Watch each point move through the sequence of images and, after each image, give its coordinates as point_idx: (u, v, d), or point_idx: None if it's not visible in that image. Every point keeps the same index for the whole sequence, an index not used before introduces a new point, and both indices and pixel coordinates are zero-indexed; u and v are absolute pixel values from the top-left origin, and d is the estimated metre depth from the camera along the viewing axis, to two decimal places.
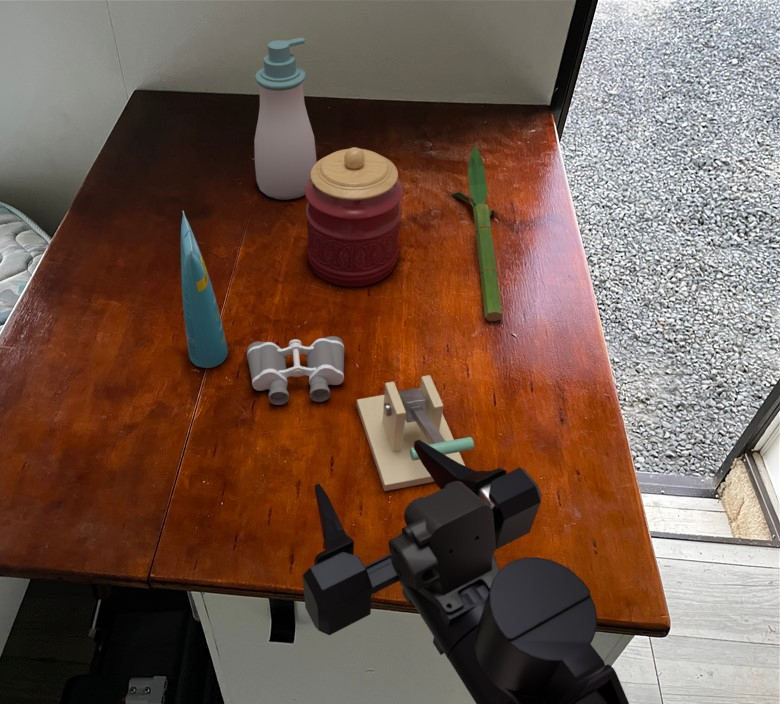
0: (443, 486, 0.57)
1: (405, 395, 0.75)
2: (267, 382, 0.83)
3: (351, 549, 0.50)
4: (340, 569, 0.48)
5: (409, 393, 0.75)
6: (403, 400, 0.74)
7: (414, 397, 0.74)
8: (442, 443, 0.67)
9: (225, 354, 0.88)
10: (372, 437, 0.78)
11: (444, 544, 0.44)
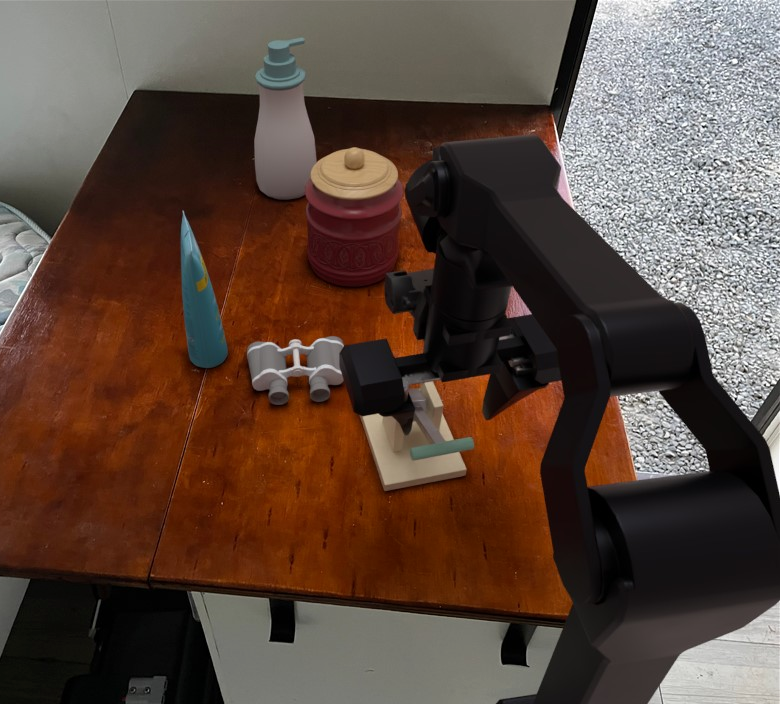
0: (499, 396, 0.61)
1: None
2: (267, 382, 0.83)
3: None
4: None
5: (409, 393, 0.75)
6: None
7: (414, 397, 0.74)
8: (442, 443, 0.67)
9: (225, 354, 0.88)
10: (372, 437, 0.78)
11: (418, 278, 0.60)
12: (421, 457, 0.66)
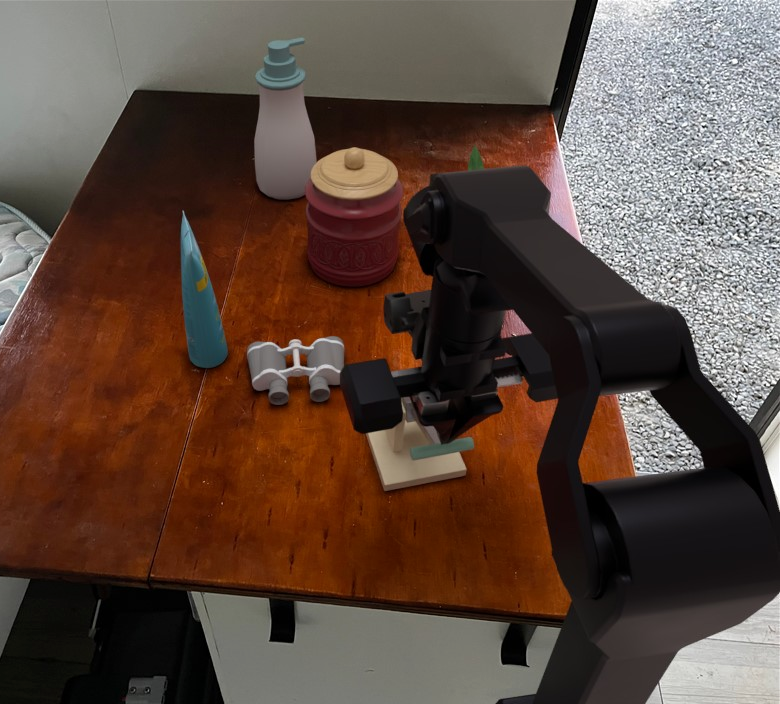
0: (456, 421, 0.62)
1: None
2: (267, 382, 0.83)
3: None
4: None
5: None
6: (403, 400, 0.74)
7: None
8: None
9: (225, 354, 0.88)
10: (372, 437, 0.78)
11: (416, 299, 0.62)
12: (421, 457, 0.66)
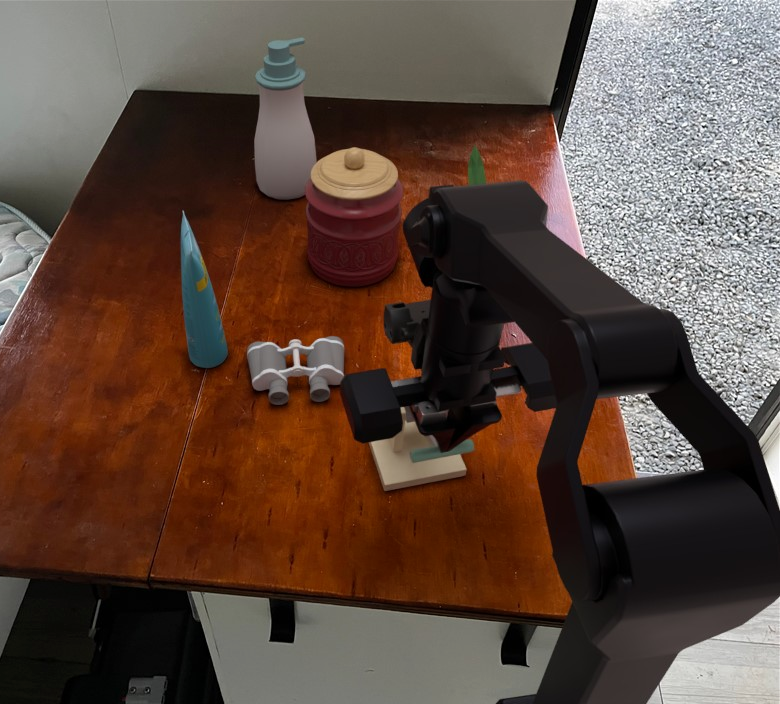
0: (455, 430, 0.63)
1: None
2: (267, 382, 0.83)
3: None
4: None
5: None
6: None
7: None
8: None
9: (225, 354, 0.88)
10: None
11: (415, 309, 0.63)
12: (421, 459, 0.66)
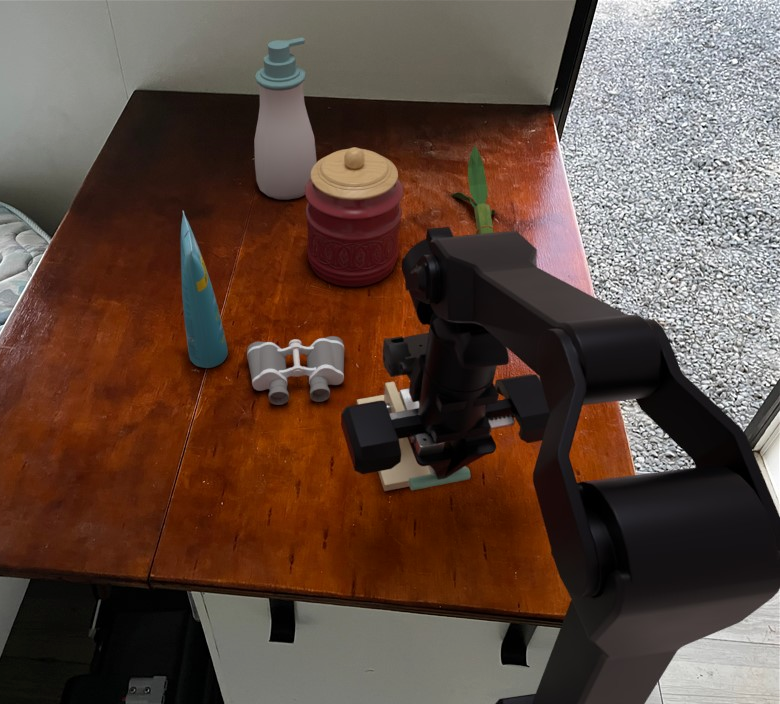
0: (451, 459, 0.65)
1: (407, 397, 0.74)
2: (267, 382, 0.84)
3: None
4: None
5: None
6: (404, 404, 0.74)
7: (415, 402, 0.74)
8: None
9: (225, 354, 0.88)
10: None
11: (413, 342, 0.65)
12: (419, 488, 0.69)
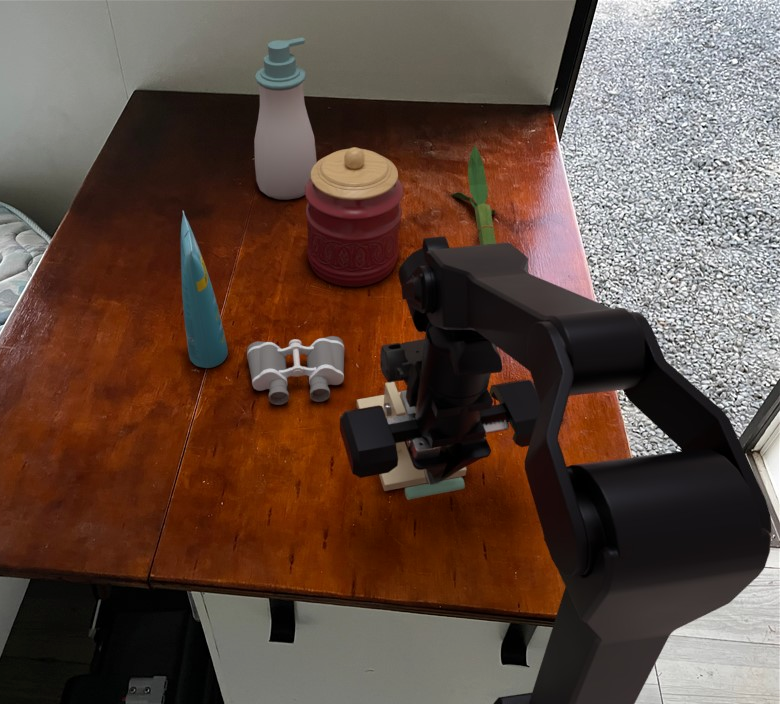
0: (447, 462, 0.67)
1: None
2: (267, 382, 0.84)
3: None
4: None
5: None
6: (405, 407, 0.74)
7: None
8: (436, 487, 0.71)
9: (225, 354, 0.88)
10: None
11: (410, 349, 0.67)
12: (414, 498, 0.71)
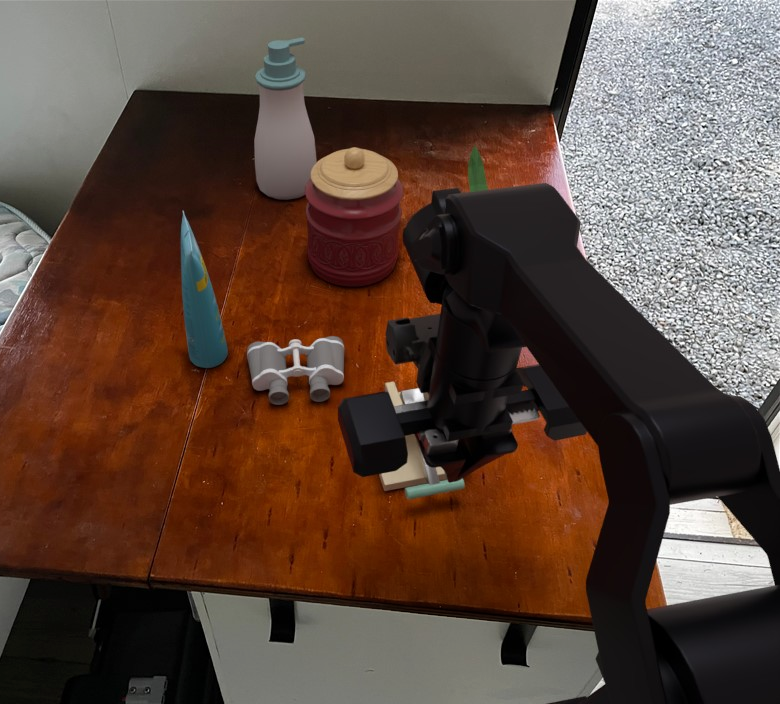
0: (465, 459, 0.57)
1: (408, 400, 0.74)
2: (267, 382, 0.84)
3: None
4: None
5: (412, 397, 0.74)
6: None
7: None
8: (436, 487, 0.71)
9: (225, 354, 0.88)
10: None
11: (421, 325, 0.57)
12: (414, 498, 0.71)
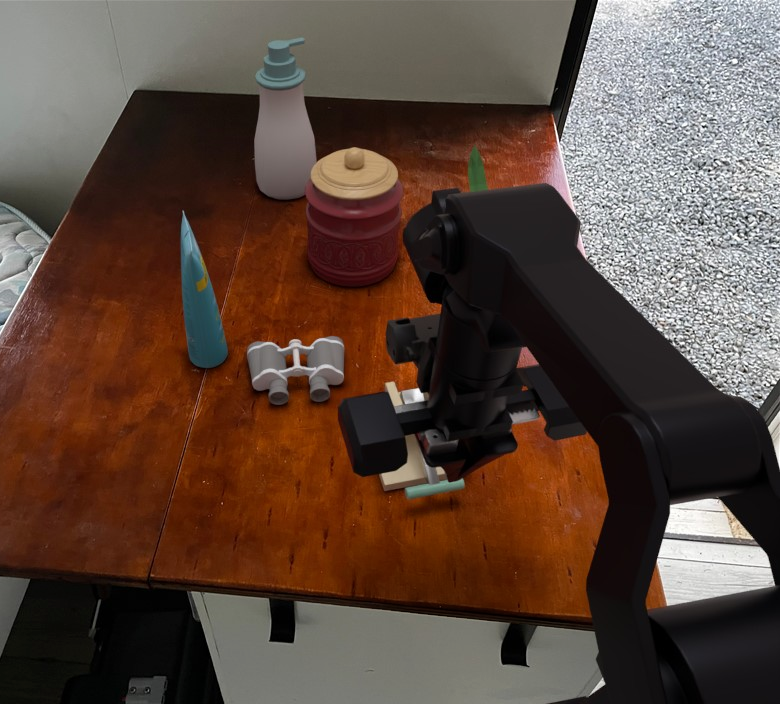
0: (465, 459, 0.57)
1: (408, 400, 0.74)
2: (267, 382, 0.84)
3: None
4: None
5: (412, 397, 0.74)
6: None
7: None
8: (436, 487, 0.71)
9: (225, 354, 0.88)
10: None
11: (421, 325, 0.57)
12: (414, 498, 0.71)
